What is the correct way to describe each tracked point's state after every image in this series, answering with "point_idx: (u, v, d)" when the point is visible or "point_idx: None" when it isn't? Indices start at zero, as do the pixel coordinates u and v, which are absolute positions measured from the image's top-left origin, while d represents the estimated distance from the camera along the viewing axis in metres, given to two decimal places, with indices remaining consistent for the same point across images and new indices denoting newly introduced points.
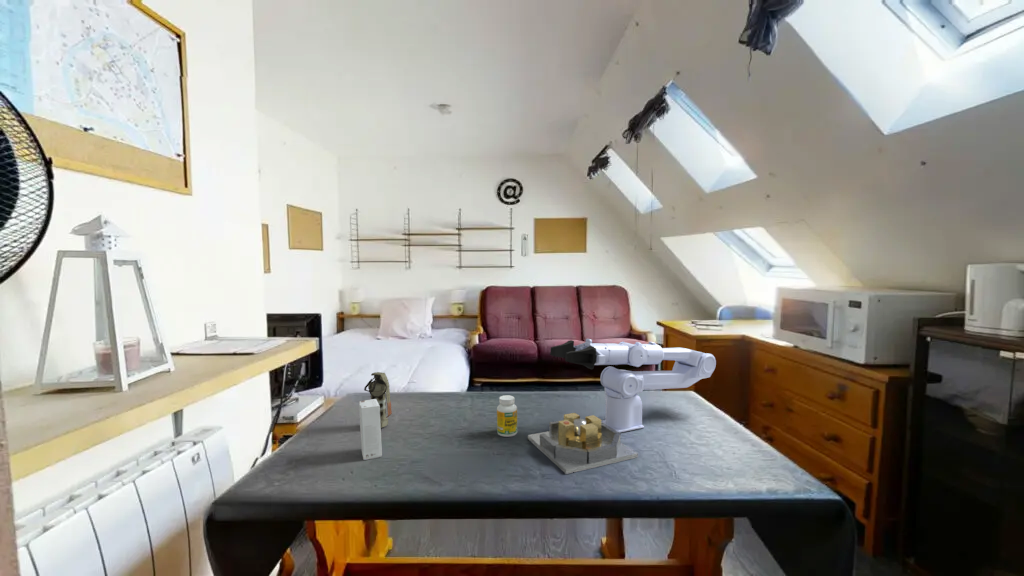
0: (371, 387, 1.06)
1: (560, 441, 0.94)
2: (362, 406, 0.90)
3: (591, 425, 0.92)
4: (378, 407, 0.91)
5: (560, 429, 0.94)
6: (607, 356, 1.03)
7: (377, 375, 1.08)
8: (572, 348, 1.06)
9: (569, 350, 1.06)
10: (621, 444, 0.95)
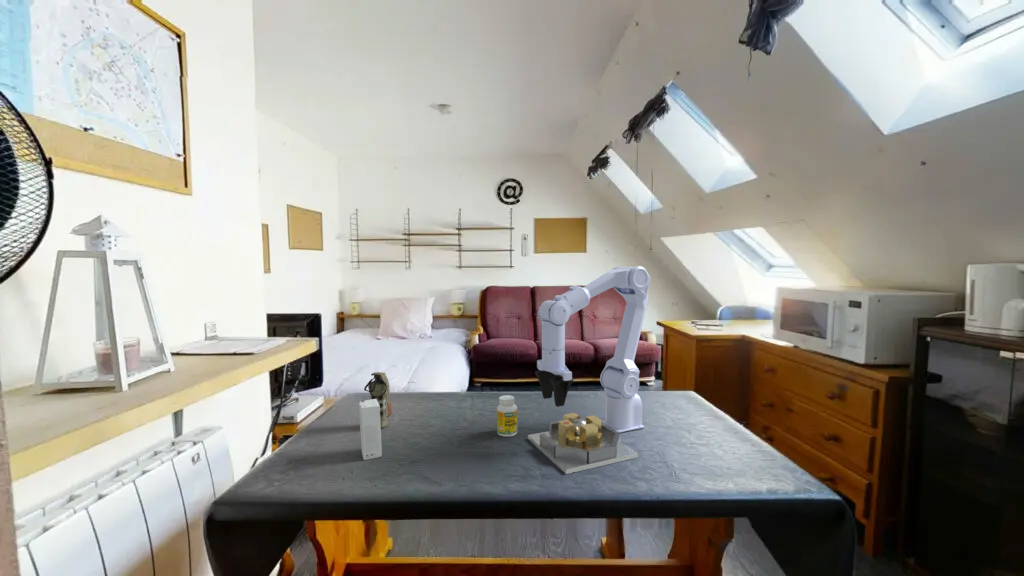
0: (371, 387, 1.06)
1: (560, 441, 0.94)
2: (362, 406, 0.90)
3: (591, 425, 0.92)
4: (378, 407, 0.91)
5: (560, 429, 0.94)
6: (559, 352, 0.96)
7: (377, 375, 1.08)
8: (544, 374, 1.02)
9: (546, 377, 1.02)
10: (621, 444, 0.95)
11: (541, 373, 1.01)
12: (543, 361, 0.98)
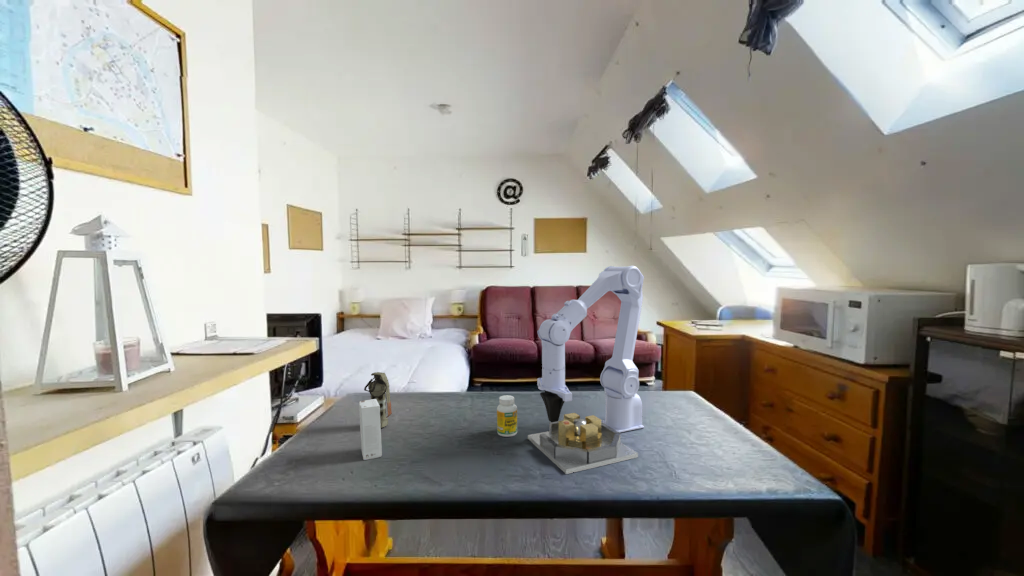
0: (371, 387, 1.06)
1: (560, 441, 0.94)
2: (362, 406, 0.90)
3: (591, 425, 0.92)
4: (378, 407, 0.91)
5: (560, 429, 0.94)
6: (559, 372, 0.96)
7: (377, 375, 1.08)
8: None
9: None
10: (621, 444, 0.95)
11: None
12: (543, 381, 0.98)
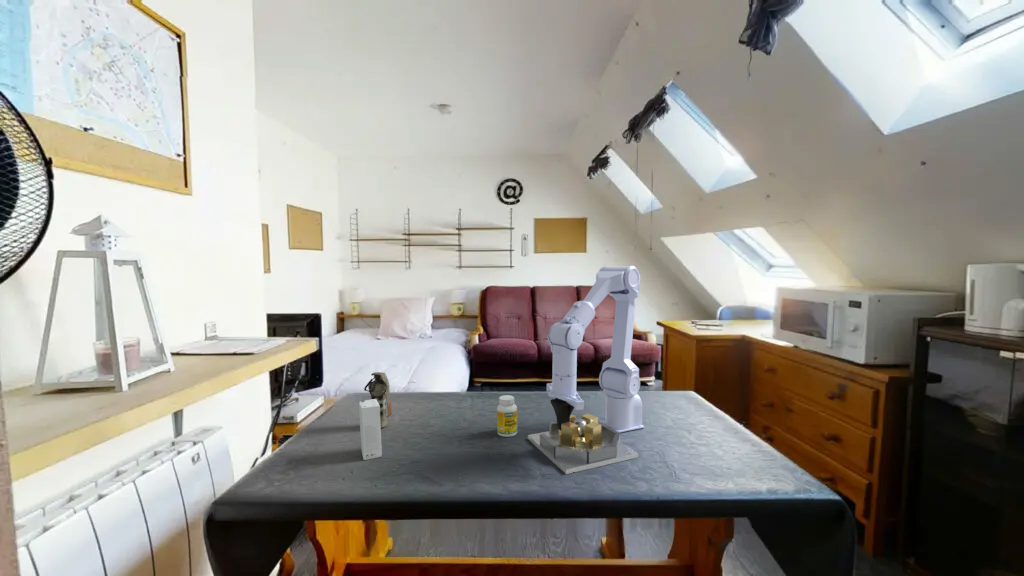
0: (371, 387, 1.06)
1: (564, 444, 0.93)
2: (362, 406, 0.90)
3: (594, 424, 0.93)
4: (378, 407, 0.91)
5: (564, 432, 0.92)
6: (570, 378, 0.91)
7: (377, 375, 1.08)
8: None
9: (563, 407, 0.94)
10: (621, 444, 0.95)
11: None
12: (553, 387, 0.92)
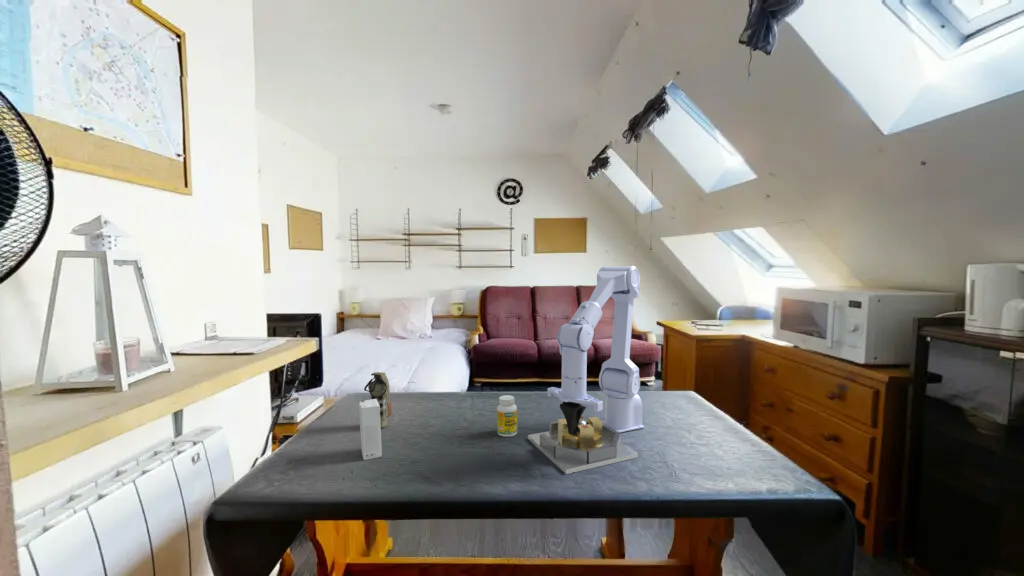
0: (371, 387, 1.06)
1: (583, 448, 0.90)
2: (362, 406, 0.90)
3: (593, 418, 0.97)
4: (378, 407, 0.91)
5: (583, 436, 0.90)
6: (584, 380, 0.89)
7: (377, 375, 1.08)
8: None
9: None
10: (621, 444, 0.95)
11: None
12: (566, 391, 0.89)
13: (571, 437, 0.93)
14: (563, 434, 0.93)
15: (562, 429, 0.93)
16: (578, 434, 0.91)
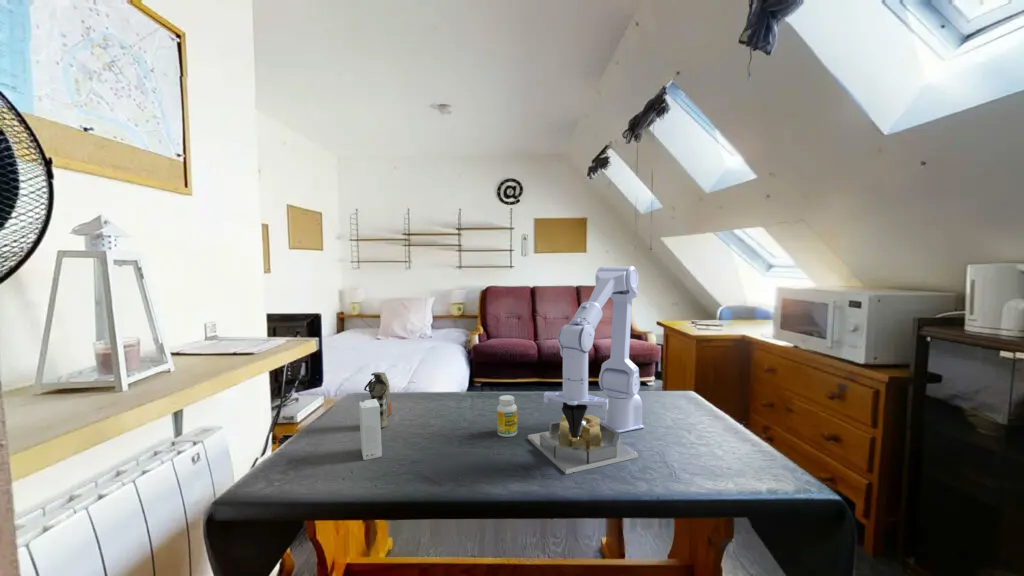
0: (371, 387, 1.06)
1: (592, 447, 0.91)
2: (362, 406, 0.90)
3: (589, 416, 0.98)
4: (378, 407, 0.91)
5: (592, 435, 0.91)
6: (587, 380, 0.89)
7: (377, 375, 1.08)
8: None
9: (574, 412, 0.90)
10: (621, 444, 0.95)
11: (572, 410, 0.88)
12: (572, 394, 0.87)
13: (577, 438, 0.92)
14: (570, 437, 0.91)
15: (569, 432, 0.91)
16: (586, 434, 0.91)
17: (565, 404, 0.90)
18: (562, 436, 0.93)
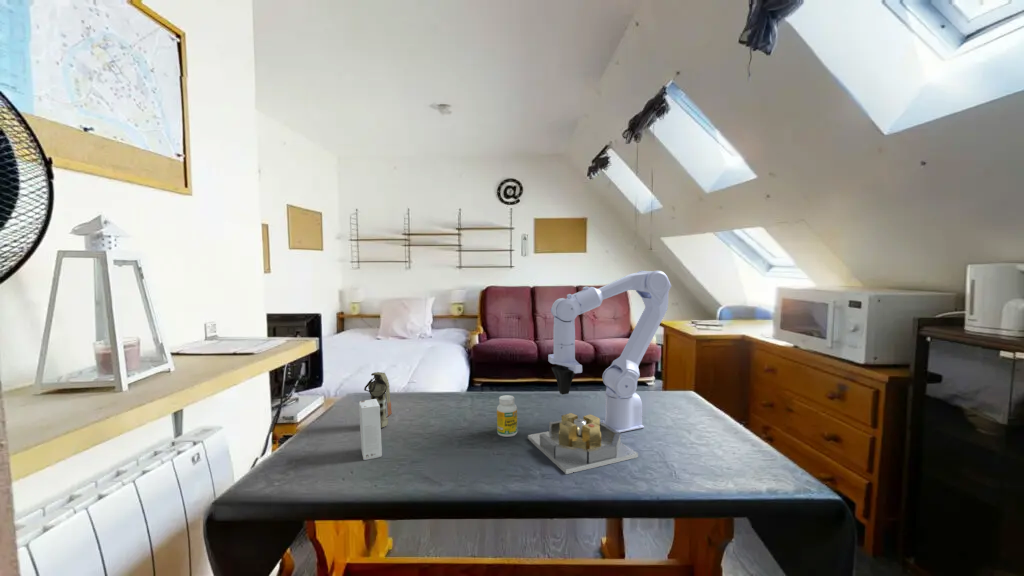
0: (371, 387, 1.06)
1: (592, 447, 0.91)
2: (362, 406, 0.90)
3: (589, 416, 0.98)
4: (378, 407, 0.91)
5: (592, 435, 0.91)
6: (569, 347, 1.03)
7: (377, 375, 1.08)
8: None
9: None
10: (621, 444, 0.95)
11: None
12: (555, 355, 1.04)
13: (577, 438, 0.92)
14: (570, 437, 0.91)
15: (569, 432, 0.91)
16: (586, 434, 0.91)
17: (557, 364, 1.07)
18: (562, 436, 0.93)
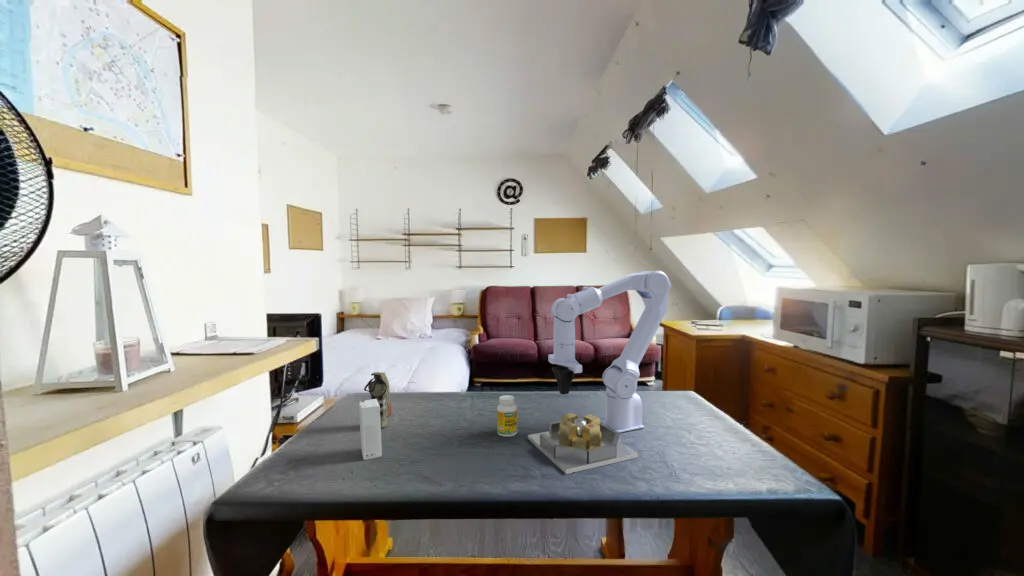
0: (371, 387, 1.06)
1: (592, 447, 0.91)
2: (362, 406, 0.90)
3: (589, 416, 0.98)
4: (378, 407, 0.91)
5: (592, 435, 0.91)
6: (569, 347, 1.03)
7: (377, 375, 1.08)
8: None
9: None
10: (621, 444, 0.95)
11: None
12: (554, 355, 1.04)
13: (577, 438, 0.92)
14: (570, 437, 0.91)
15: (569, 432, 0.91)
16: (586, 434, 0.91)
17: (557, 364, 1.07)
18: (562, 436, 0.93)
